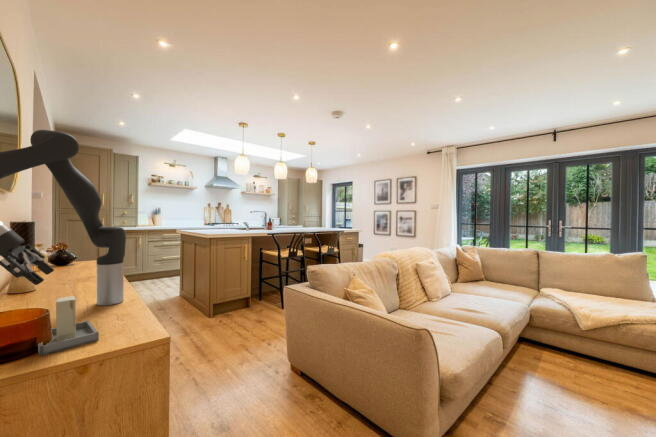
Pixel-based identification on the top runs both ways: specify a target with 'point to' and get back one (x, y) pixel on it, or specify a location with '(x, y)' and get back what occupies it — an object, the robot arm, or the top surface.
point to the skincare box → (65, 318)
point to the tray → (83, 336)
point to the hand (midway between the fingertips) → (45, 277)
